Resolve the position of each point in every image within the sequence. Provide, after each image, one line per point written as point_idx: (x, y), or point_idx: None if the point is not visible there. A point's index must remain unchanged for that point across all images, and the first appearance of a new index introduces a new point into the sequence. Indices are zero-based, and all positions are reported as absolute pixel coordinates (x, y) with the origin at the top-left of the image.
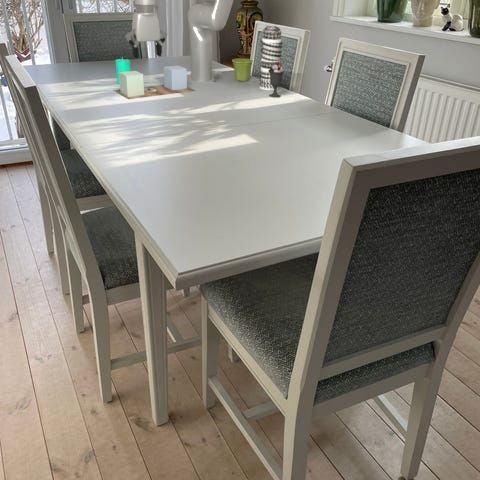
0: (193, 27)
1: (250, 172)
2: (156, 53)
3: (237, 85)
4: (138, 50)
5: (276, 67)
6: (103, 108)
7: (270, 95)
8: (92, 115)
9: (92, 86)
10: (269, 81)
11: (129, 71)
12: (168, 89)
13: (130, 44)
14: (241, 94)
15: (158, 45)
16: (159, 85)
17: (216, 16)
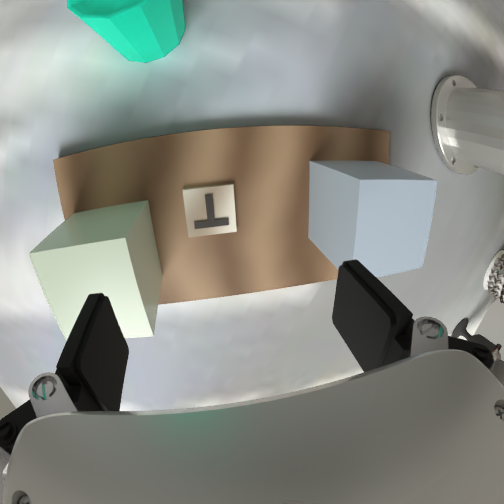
0: None
1: None
2: (344, 274)
3: (485, 223)
4: (120, 400)
5: None
6: (33, 337)
7: (455, 330)
8: (24, 370)
9: (27, 32)
10: (497, 296)
11: (84, 248)
12: (300, 220)
13: (26, 402)
14: (438, 307)
15: (384, 363)
16: (298, 131)
17: None
